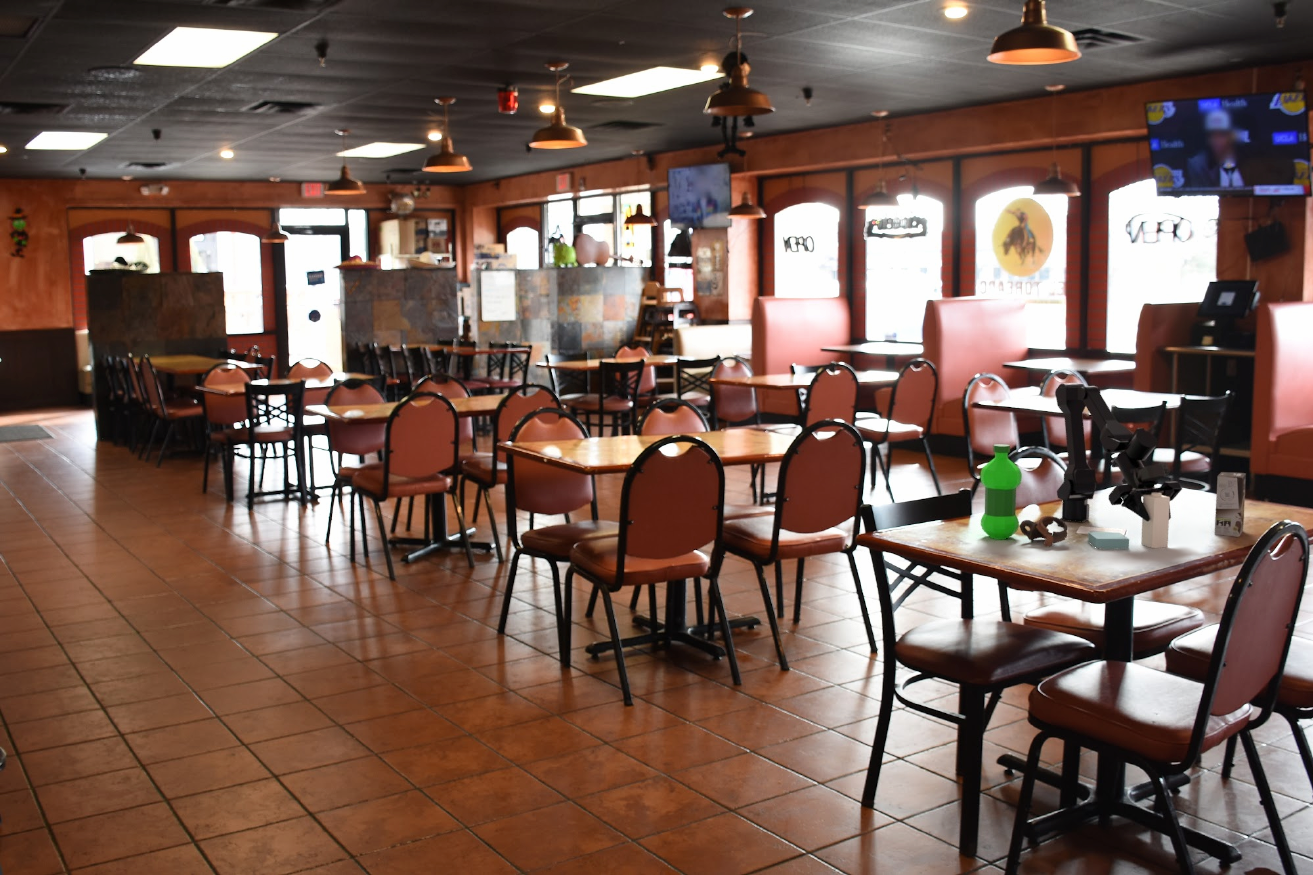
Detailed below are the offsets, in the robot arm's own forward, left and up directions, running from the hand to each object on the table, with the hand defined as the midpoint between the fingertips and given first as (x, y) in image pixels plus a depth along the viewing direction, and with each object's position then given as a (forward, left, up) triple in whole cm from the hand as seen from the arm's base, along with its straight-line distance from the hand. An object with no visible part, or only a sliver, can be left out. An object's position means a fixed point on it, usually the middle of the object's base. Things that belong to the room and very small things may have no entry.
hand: (1159, 519), depth 305 cm
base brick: (-11, -5, -7) cm, 14 cm away
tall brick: (-1, +1, -7) cm, 7 cm away
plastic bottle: (-38, -10, -7) cm, 40 cm away
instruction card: (-17, +11, -7) cm, 21 cm away
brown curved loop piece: (-26, -11, -7) cm, 29 cm away
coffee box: (+12, +28, -7) cm, 31 cm away
